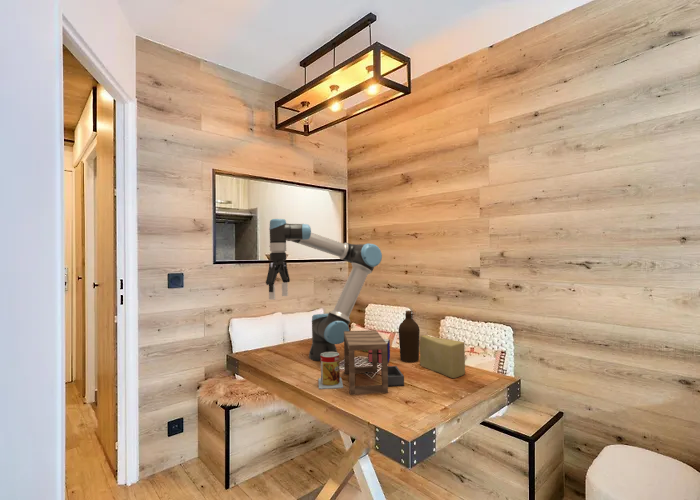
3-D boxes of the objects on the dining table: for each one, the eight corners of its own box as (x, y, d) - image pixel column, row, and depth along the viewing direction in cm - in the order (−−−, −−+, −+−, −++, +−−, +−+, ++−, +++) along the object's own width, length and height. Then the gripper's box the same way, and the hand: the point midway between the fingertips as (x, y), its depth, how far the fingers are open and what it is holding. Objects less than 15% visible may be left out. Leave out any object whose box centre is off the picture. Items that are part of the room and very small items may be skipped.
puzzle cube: (388, 364, 184) (387, 343, 184) (368, 363, 186) (367, 343, 186) (390, 358, 194) (389, 339, 194) (371, 357, 196) (370, 338, 196)
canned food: (341, 384, 154) (340, 355, 154) (322, 386, 152) (322, 357, 152) (337, 378, 162) (337, 351, 162) (319, 380, 160) (319, 352, 160)
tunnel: (344, 372, 171) (343, 331, 171) (376, 371, 173) (376, 330, 173) (350, 394, 144) (349, 345, 144) (388, 392, 146) (387, 344, 146)
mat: (318, 379, 163) (318, 378, 163) (341, 378, 163) (341, 377, 163) (318, 389, 151) (318, 388, 151) (343, 388, 152) (343, 387, 152)
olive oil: (404, 363, 183) (403, 313, 183) (395, 358, 193) (394, 310, 194) (423, 361, 186) (422, 311, 187) (414, 356, 196) (413, 308, 197)
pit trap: (381, 375, 166) (381, 366, 166) (396, 374, 167) (396, 365, 167) (387, 386, 152) (387, 376, 152) (404, 385, 153) (404, 376, 153)
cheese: (414, 367, 177) (413, 336, 178) (427, 363, 183) (427, 333, 184) (452, 379, 160) (451, 344, 160) (466, 374, 166) (465, 341, 166)
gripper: (282, 252, 187) (282, 294, 187) (257, 252, 163) (258, 300, 162) (296, 252, 185) (296, 294, 185) (273, 252, 161) (274, 301, 161)
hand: (278, 297), depth 174 cm, fingers open, 13 cm apart
